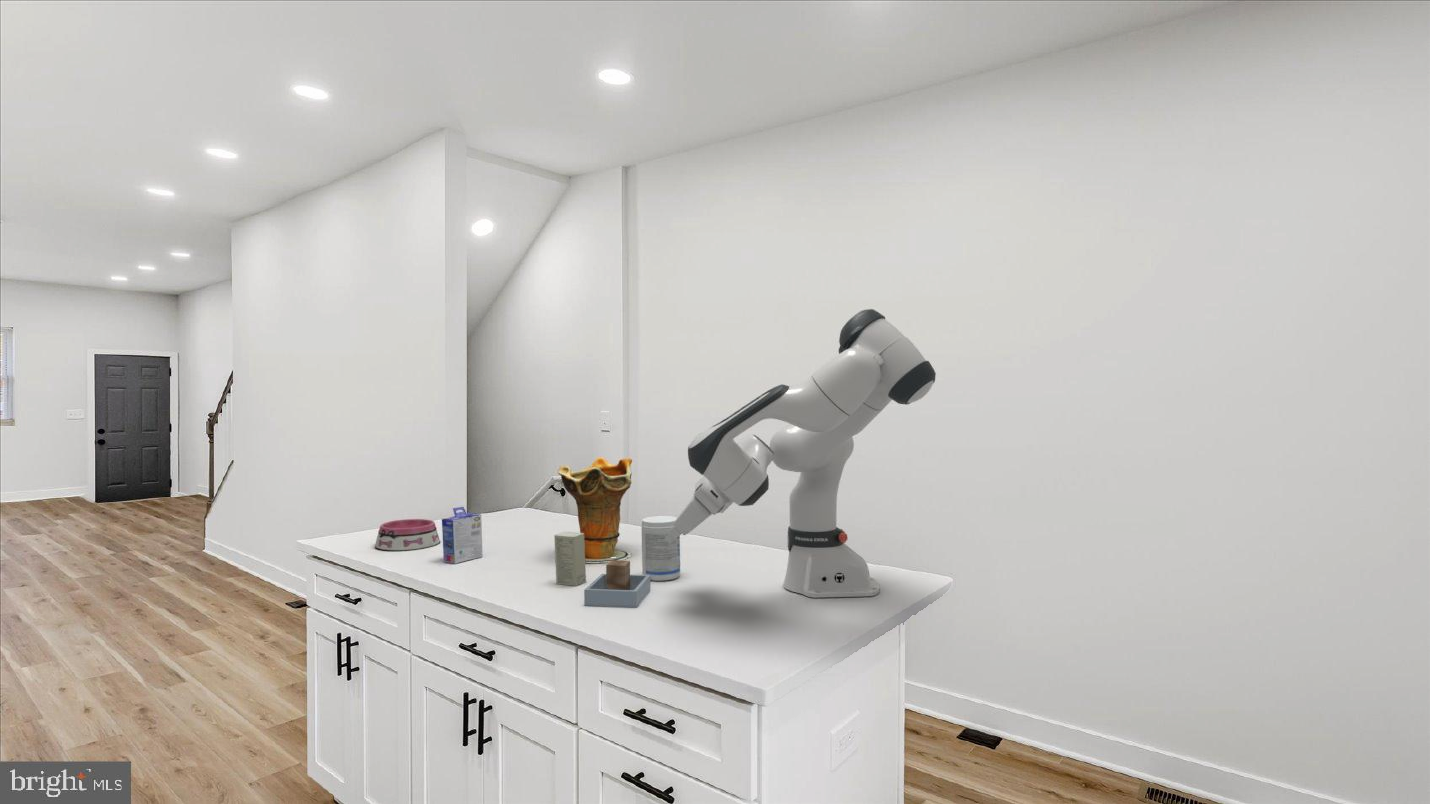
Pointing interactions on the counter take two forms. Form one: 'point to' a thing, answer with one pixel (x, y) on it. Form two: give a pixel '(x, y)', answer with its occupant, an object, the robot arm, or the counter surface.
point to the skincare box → (570, 558)
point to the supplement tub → (660, 549)
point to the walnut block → (618, 575)
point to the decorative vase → (599, 505)
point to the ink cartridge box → (462, 537)
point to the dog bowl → (407, 535)
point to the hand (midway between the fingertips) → (671, 536)
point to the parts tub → (617, 592)
